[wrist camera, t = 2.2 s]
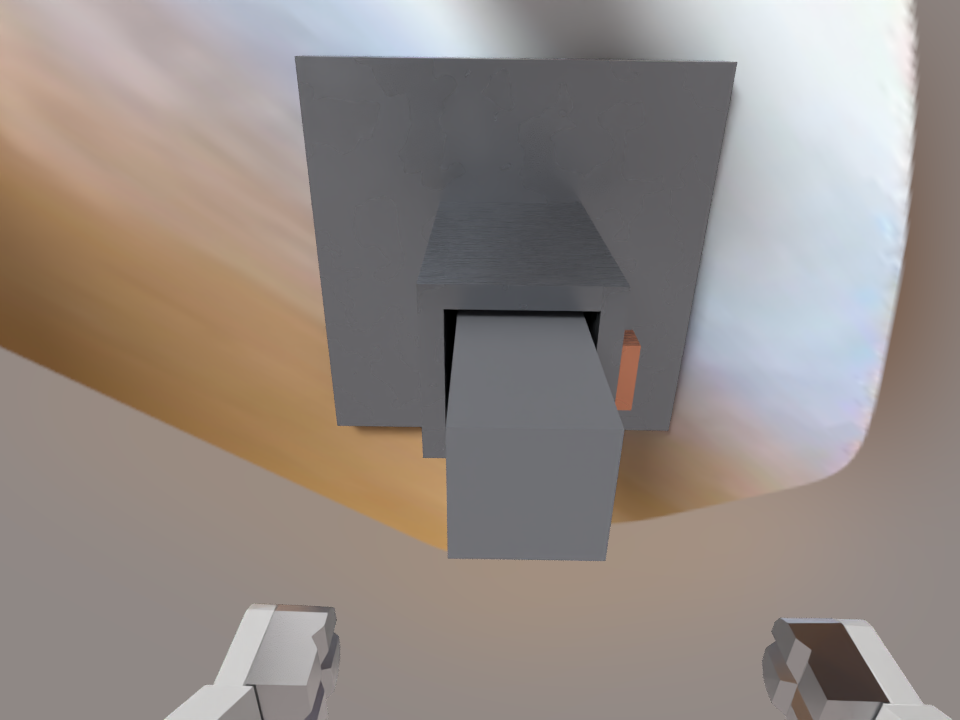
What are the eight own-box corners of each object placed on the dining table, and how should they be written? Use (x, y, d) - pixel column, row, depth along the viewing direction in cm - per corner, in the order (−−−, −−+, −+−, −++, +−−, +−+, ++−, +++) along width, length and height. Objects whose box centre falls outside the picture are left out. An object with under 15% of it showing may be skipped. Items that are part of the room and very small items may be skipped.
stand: (343, 410, 35) (279, 575, 24) (304, 55, 26) (180, 66, 16) (661, 415, 35) (739, 582, 24) (724, 60, 26) (887, 75, 16)
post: (463, 312, 30) (443, 561, 16) (464, 227, 28) (440, 423, 14) (550, 313, 30) (608, 563, 16) (556, 229, 28) (629, 426, 14)
